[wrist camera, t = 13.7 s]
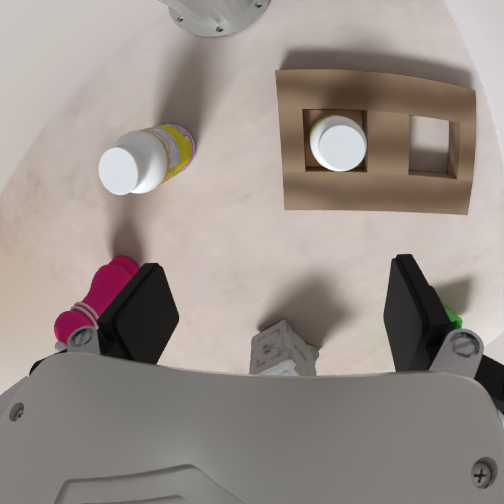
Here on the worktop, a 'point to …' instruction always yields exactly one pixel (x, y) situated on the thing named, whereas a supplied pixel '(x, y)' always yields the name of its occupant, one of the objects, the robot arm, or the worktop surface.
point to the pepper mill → (95, 299)
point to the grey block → (282, 353)
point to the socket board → (374, 141)
